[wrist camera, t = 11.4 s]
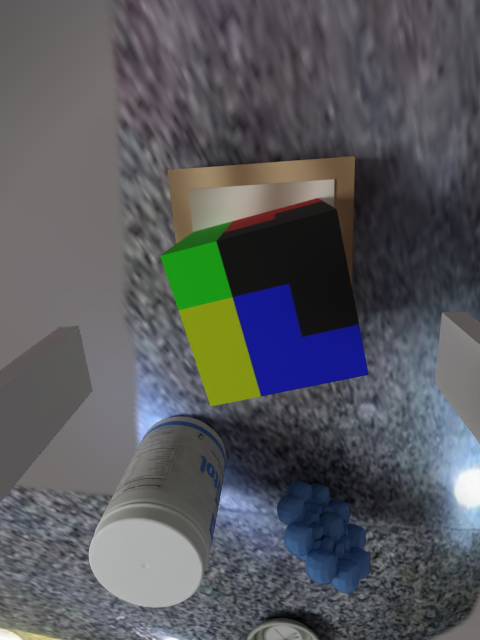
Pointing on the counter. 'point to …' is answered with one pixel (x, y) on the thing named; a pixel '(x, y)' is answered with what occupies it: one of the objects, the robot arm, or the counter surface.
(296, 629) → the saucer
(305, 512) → the grapes
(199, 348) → the puzzle toy
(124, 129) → the counter surface
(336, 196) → the oak picture frame
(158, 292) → the counter surface
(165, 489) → the supplement tub
